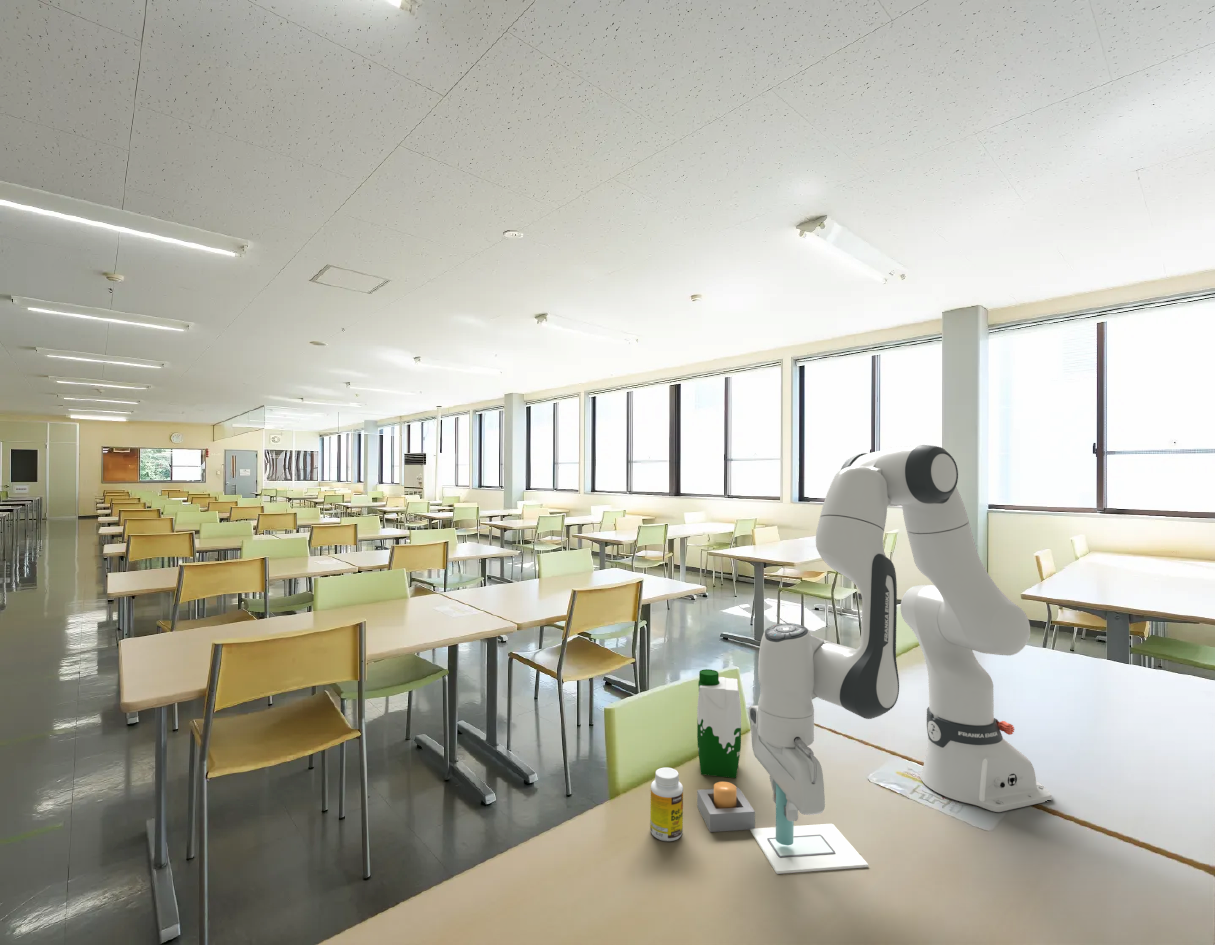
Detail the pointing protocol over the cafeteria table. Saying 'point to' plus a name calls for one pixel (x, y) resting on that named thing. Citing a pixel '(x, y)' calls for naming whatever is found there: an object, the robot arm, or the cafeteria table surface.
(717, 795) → the button
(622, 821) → the cafeteria table surface
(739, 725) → the milk carton
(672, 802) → the supplement bottle
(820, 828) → the worksheet
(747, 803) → the button housing
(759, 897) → the cafeteria table surface
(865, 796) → the cafeteria table surface
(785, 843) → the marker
